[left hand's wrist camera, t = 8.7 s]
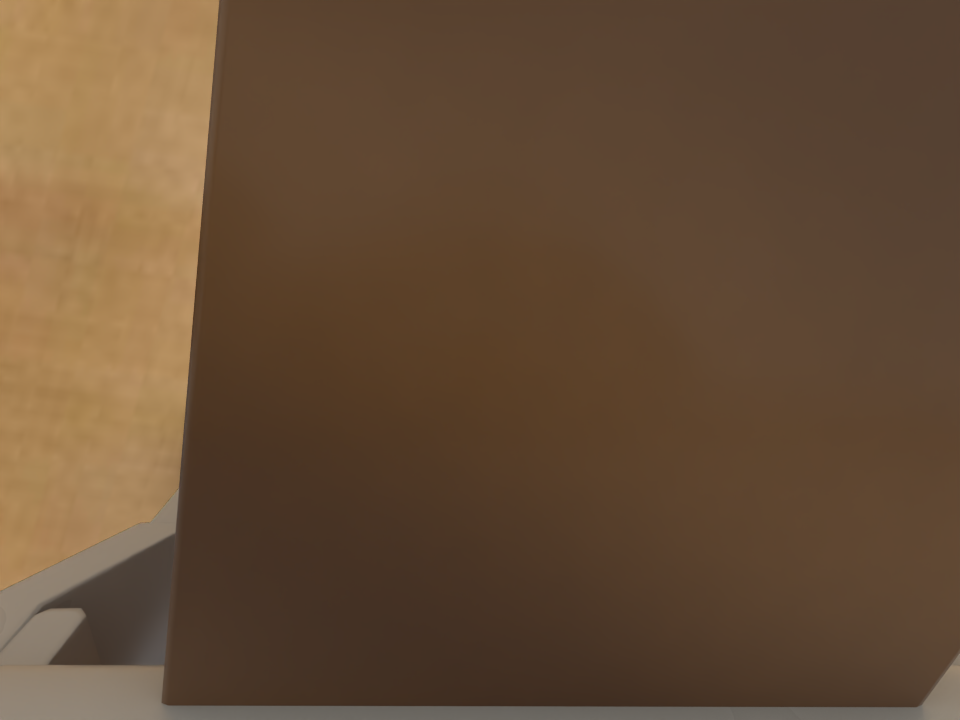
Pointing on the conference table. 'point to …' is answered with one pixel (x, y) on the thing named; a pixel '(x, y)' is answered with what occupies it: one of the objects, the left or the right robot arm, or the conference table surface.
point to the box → (574, 357)
